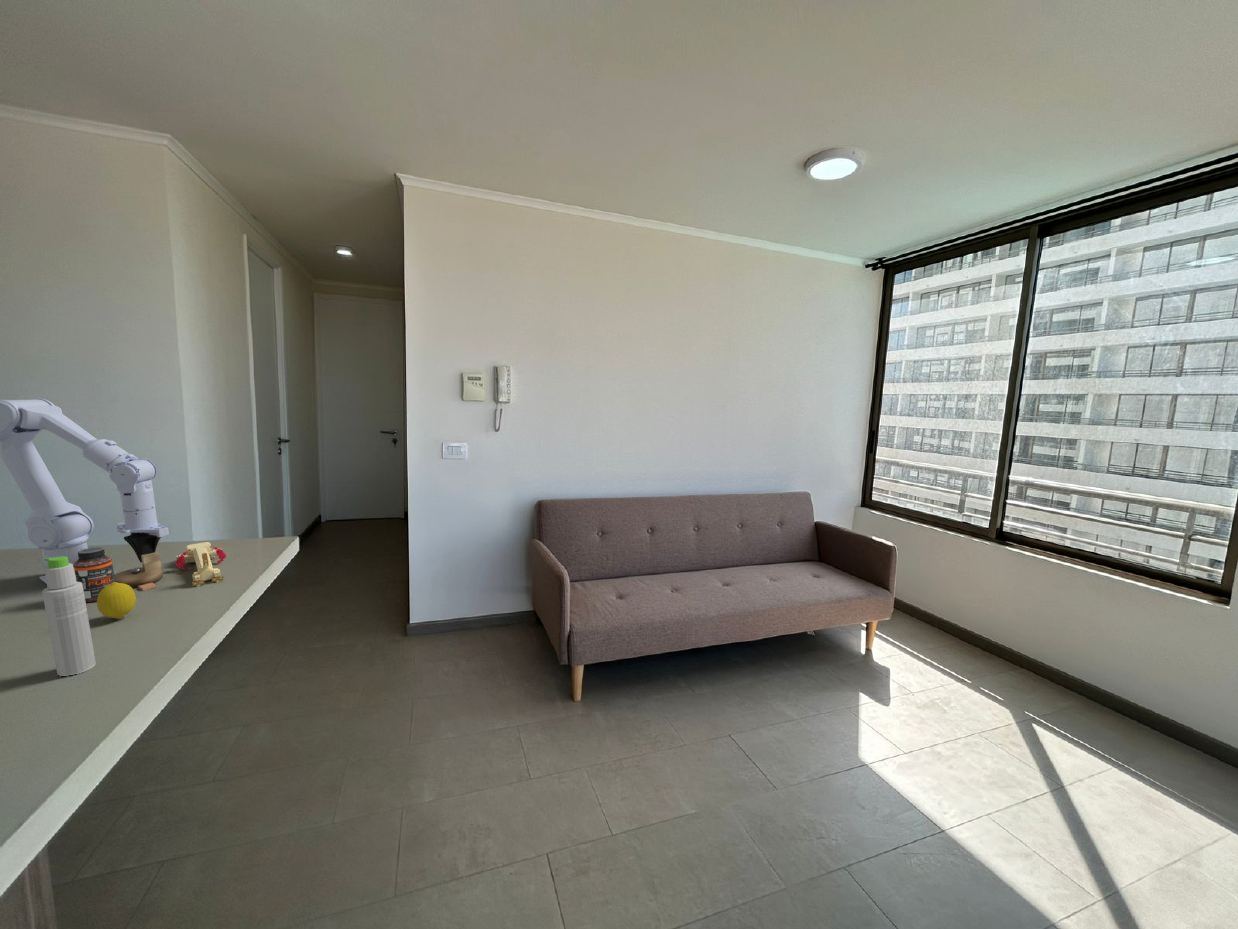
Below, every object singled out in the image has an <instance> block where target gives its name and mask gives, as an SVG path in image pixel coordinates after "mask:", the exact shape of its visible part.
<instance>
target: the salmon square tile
mask: <svg viewBox="0 0 1238 929" xmlns="http://www.w3.org/2000/svg"><path fill="white" fill-rule="evenodd" d="M153 588H154V589H155V588H157V584H155V582H153V583H148V584H144V585H140V586H138V589H139V590H141V591H146V590H151V589H153Z"/></svg>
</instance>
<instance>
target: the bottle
mask: <svg viewBox="0 0 1238 929" xmlns="http://www.w3.org/2000/svg"><path fill="white" fill-rule="evenodd" d="M45 561H48V566H49V567H47V568H46V569H44V574H46V575H45V576H46V582H47V584H46V588H44V589H42V591H41V593H42V598H43V604H44V609H45V613H46V619H47V625H48V630H49V636H50V640H51V641H50V642H51V646H52V650H53V657H54V663H55V668H56V673H57V676H58V675H72V674H77V675H80V674H83V673H85V672H87V671H89V670H91V669H93V668H94V667H96V664H97V663H96V657H95V650H94V644H93V640H92V633H91V627H90V620H89V616H88V610H87V602H85V596H84V591H83V585H82V583H81V582H76V576H75V571H74V568H73V564H71V563H69V562H68V558H67V557H66V556H60V557H54V558H46V559H45ZM82 672H83V673H82ZM79 673H80V674H79Z"/></svg>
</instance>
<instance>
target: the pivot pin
mask: <svg viewBox="0 0 1238 929" xmlns="http://www.w3.org/2000/svg"><path fill="white" fill-rule="evenodd" d="M130 569H131V571H132V573H139V572H141V567H135V568H130Z"/></svg>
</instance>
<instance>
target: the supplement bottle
mask: <svg viewBox="0 0 1238 929" xmlns="http://www.w3.org/2000/svg"><path fill="white" fill-rule="evenodd" d="M78 557H79V559H78V560H77V561H76V562H75V563H74V564H73V568H74V571H75V576H76V582H81V583H82V585H83V591H84V596H85V602H86V603H93V602H97V598H98V595H99V593H100V591H101V590H102V589H104V588H105V587H106V586H108V585H110V584H111V583H113V582H115V578H114V575H115V571H114V564H113V560H112V558H111V557H110V556H109V555H106V553H105V548H104V547H100V546H99V547H98V546H97V547H88V549H84V550H81V551H79V552H78Z"/></svg>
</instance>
